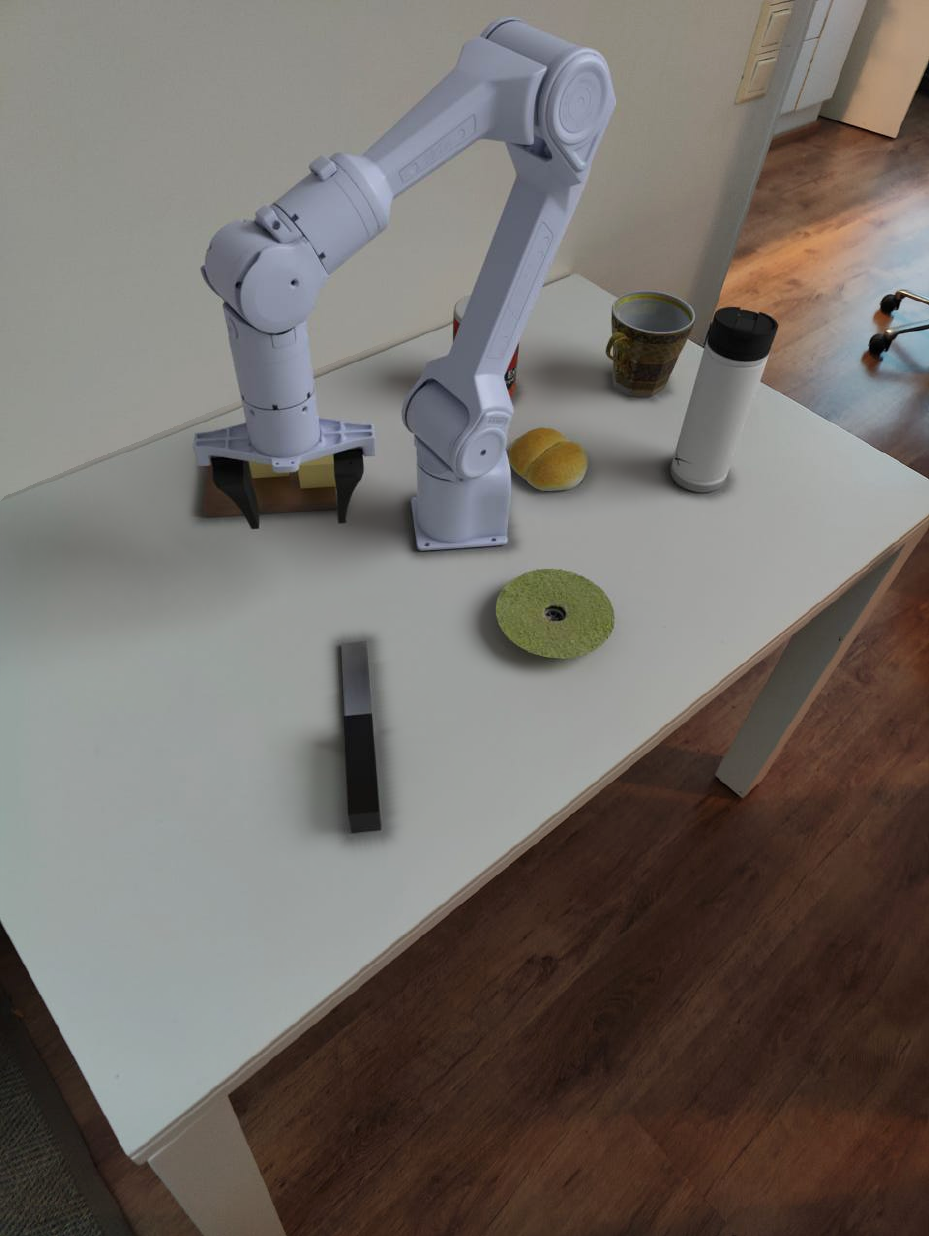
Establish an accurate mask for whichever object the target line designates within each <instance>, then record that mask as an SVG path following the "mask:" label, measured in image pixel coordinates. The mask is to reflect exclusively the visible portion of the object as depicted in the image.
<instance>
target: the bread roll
mask: <svg viewBox="0 0 929 1236" xmlns="http://www.w3.org/2000/svg"><path fill="white" fill-rule="evenodd" d="M508 459H509V465H510V467H511V468H512V470H513V471H514V472H515V473H516V474H517V476H519V477H520V478H522V479H523V480H525V481H526V482H527V483H528V484H529V485H530V486H531V487H533V488H535V489H537V490H538V491H544V492H545V491H546V492H556V491H557V492H558V491H565V490H566V491H567V490H572V489H573V488H575V487H576V486H578V485H579V484H580V483H582V481H583V480H584V477H585V476H586V472H587V469H588V457H587V454H586V452H585V450H584V448H583V447H582V446H581V445H580V444H578V443H576V442H574V441H570V440H569V439H568V438H567V437H566V436H565V435H564V434H563V433H562V432H560V431H558V430H556V429H555V428H552V427H536V428H534V429H531V430H529V431H527V432H526V433H524V434H522V435H520V436H519V437H517V438H516V439H515V440H514V441H513V442H512V443H511V444H510V446H509V452H508Z"/></svg>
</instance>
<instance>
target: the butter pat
mask: <svg viewBox="0 0 929 1236" xmlns="http://www.w3.org/2000/svg"><path fill="white" fill-rule="evenodd" d="M298 475H299V481H300V487H301V489H304V488H320V487H335V486H336V484H335V477H334V459H333V454H331V455H328V456H324V457H321V458H317V459H314V460H310V461H307V462H304V463H300V464H299V469H298Z"/></svg>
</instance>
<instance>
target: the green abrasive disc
mask: <svg viewBox="0 0 929 1236" xmlns="http://www.w3.org/2000/svg"><path fill="white" fill-rule="evenodd" d="M495 617H496V620H497V624H498V625H499V628H500V629H501V631H502V632H503V634H505V637H507V638H508V639H509V641H511V642H512V643H513V644H515V645H516V646H517V647H519V648H521V649H522V650H525V651H527V652H528V653H530V654H533V655H536V656H541V657H546V658H550V659H572V658H577V657H582V656H586V655H588V654H589V653H593V652H594V651H595V650H597V649H598V648H599V647H601V646H602V645H603V644H604V643H605V642H606V641H607V640H608V639H609V637H610V636H611V633H612V632H613V630H614V626H615V617H616V616H615V609H614V607H613V604H612V602H611V600H610V599H609V597H608V596H607V594H606V592H605V591H604V590H603V589H602V588H601V587H600V586H599V585H597V584H596V583H595V582H594V581H592V580H590V579H589V578H586V577H585V576H583V575H581V574H580V575H579V574H578V573H575V572H573V571H567V570H563V569H557V568H556V569H555V568H542V569H536V570H531V571H528V572H524V573H521V574H520V575H518V576H517V577H515V578H512V579H511V580H510V581H509V582H508V583H507V584H505V586H504V587H503V588H502V590H501V591H500V592H499V594H498V596H497V600H496V603H495Z"/></svg>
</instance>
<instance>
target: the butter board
mask: <svg viewBox="0 0 929 1236" xmlns="http://www.w3.org/2000/svg"><path fill="white" fill-rule="evenodd" d="M248 463H249V461H248ZM249 469H250V465H249ZM205 474H206V475H205V484H204V493H203V502H202V503H203V504H202V513H203V516H204V518H217V517H230V516H232V517H233V516H244V515H243V513H242V512H241V510H240V509H239V508H238V506H237V505H236V504H235V503H234V502H233V501H232V500H231V499H230V498H229V497H228V496H227V495H226V494H225V493H224V492H222V491H221V490H220V489H218V488H217V487H216V485H215V484H214V481H213V478H212V476H213V469H212V464H211V465H209V466H206V473H205ZM250 475H251V470H250ZM251 480H252V484H253V488H254V491H255V495H256V498H257V502H258V506H259V513H260V515H263V514H277V513H278V514H279V513H280V514H281V513H293V512H294V513H295V512H307V511H308V512H309V511H325V510H337V491H336V486H335V487H320V488H304V489H301V487H300V481H299V475H298V470H297V471H296V472H289V476H283V477H267V478H252V475H251Z"/></svg>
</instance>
